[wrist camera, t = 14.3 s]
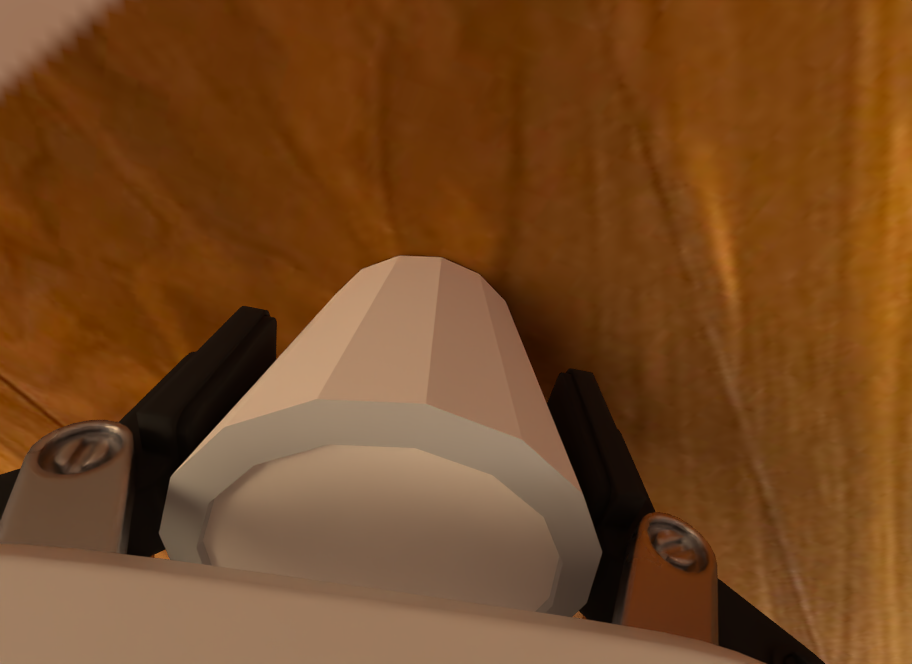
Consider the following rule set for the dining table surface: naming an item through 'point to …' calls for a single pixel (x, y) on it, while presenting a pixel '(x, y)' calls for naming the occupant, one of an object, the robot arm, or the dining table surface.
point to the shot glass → (395, 455)
